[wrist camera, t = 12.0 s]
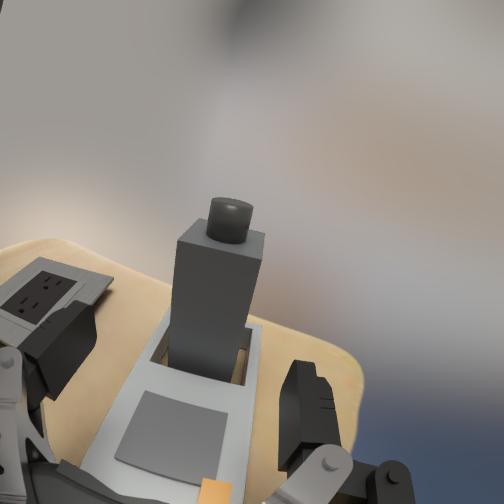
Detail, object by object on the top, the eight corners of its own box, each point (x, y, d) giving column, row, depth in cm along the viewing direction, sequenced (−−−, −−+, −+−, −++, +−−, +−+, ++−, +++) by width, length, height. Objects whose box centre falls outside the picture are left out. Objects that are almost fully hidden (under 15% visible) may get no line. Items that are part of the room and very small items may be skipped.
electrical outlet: (53, 382, 15) (44, 359, 14) (-28, 335, 14) (-36, 313, 13) (114, 294, 27) (113, 274, 26) (41, 272, 26) (39, 254, 25)
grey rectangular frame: (87, 488, 9) (72, 472, 7) (170, 324, 24) (172, 298, 23) (231, 533, 9) (241, 526, 7) (256, 345, 24) (263, 320, 23)
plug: (167, 379, 18) (182, 203, 14) (183, 342, 23) (204, 189, 18) (226, 394, 18) (271, 222, 14) (234, 355, 23) (271, 204, 18)
